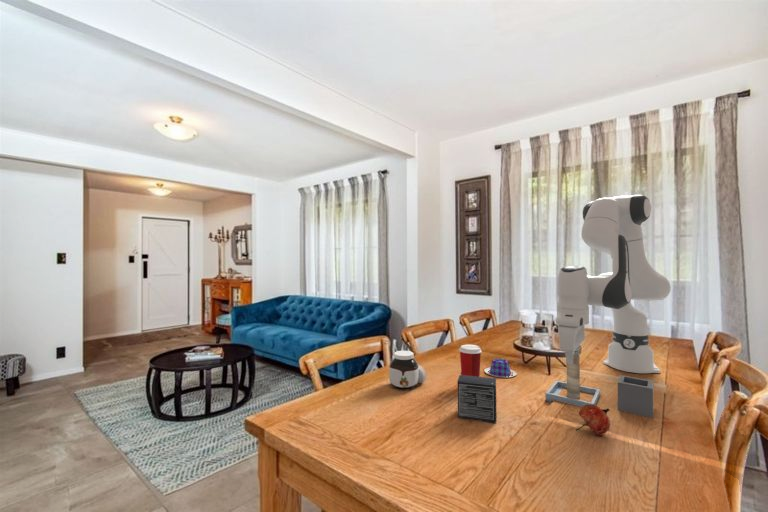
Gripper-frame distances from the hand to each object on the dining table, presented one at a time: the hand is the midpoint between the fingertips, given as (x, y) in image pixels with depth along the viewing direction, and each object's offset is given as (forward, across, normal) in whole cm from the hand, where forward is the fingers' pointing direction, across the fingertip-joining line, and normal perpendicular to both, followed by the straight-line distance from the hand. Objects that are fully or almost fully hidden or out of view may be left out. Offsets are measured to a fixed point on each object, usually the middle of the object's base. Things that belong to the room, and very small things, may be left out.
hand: (573, 360), depth 109 cm
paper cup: (+13, +11, -30) cm, 34 cm away
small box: (+13, +30, -19) cm, 38 cm away
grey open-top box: (+12, -1, +16) cm, 20 cm away
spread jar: (+13, +23, -48) cm, 55 cm away
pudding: (+13, -10, -27) cm, 32 cm away
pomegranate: (+13, +20, +8) cm, 25 cm away
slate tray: (+12, 0, 0) cm, 12 cm away
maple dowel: (+12, 0, 0) cm, 12 cm away
